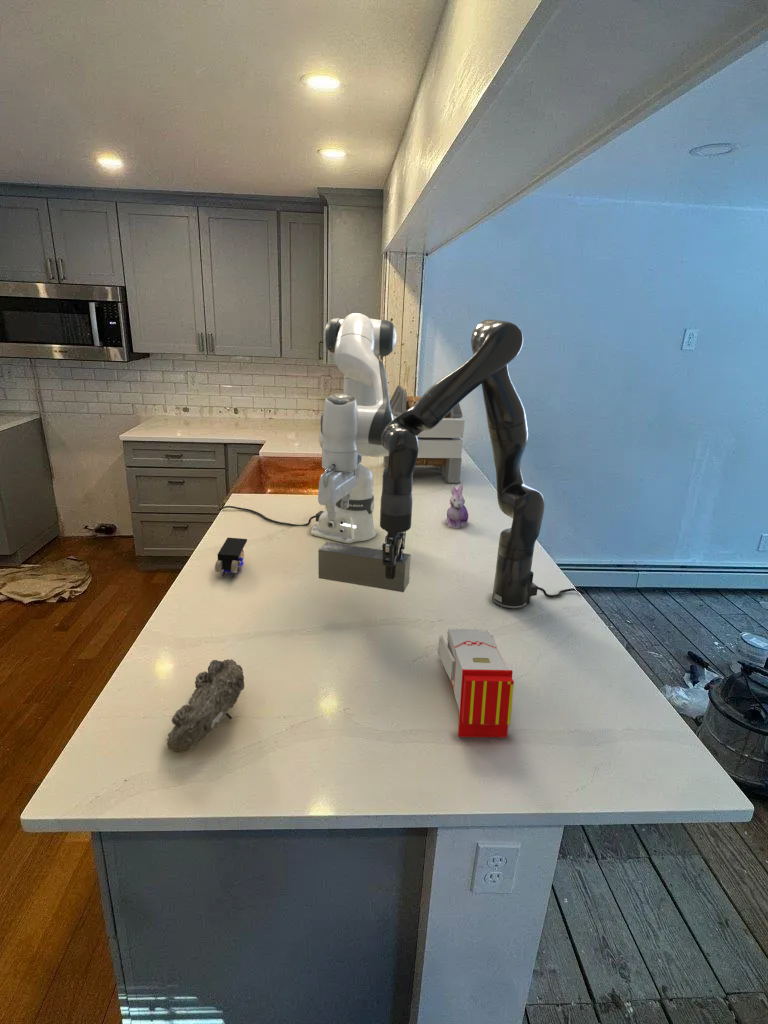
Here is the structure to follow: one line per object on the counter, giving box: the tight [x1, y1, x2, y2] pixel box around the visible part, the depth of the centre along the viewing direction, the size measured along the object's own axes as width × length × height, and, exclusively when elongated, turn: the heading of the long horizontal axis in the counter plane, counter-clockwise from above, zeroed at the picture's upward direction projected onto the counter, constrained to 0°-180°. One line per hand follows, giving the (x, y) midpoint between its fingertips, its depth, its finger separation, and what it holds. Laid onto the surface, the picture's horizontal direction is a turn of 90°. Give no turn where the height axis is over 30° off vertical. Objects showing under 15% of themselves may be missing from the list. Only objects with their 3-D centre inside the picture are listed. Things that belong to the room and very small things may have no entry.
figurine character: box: [214, 537, 248, 578], centre depth 166 cm, size 7×8×15 cm
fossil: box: [166, 658, 245, 754], centre depth 106 cm, size 22×10×15 cm
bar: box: [317, 541, 412, 593], centre depth 142 cm, size 22×6×8 cm, turn 74°
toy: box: [437, 628, 515, 738], centre depth 117 cm, size 12×13×30 cm
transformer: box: [383, 384, 465, 484], centre depth 268 cm, size 34×33×41 cm
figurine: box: [445, 484, 469, 529], centre depth 209 cm, size 9×10×15 cm
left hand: (338, 513), depth 146 cm, fingers open, 8 cm apart
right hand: (393, 572), depth 140 cm, fingers closed on bar, 5 cm apart
